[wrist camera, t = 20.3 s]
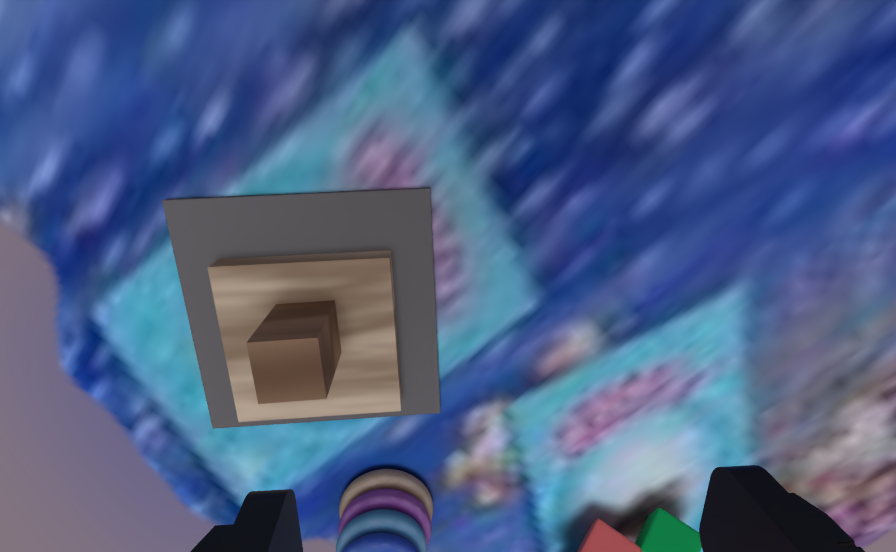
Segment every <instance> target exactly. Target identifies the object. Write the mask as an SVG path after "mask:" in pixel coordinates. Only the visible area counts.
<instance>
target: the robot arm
mask: <svg viewBox="0 0 896 552" xmlns="http://www.w3.org/2000/svg"><path fill="white" fill-rule="evenodd" d="M699 534H700V542H701V546H702V549H703V552H865V551H864V550H863V549H862V548H861V547H856V545H855V543H854V540H853V539H852V538H851V537H850V536H849V535H848V534H846V533H845V532H844V531H843V530H842V529H841V528H840V527H839V526H838V525H837V524H836V523H835V522H834V521H833V520H832V519H831V518H830V517H829V516H828V515H827V514H826V513H824V512H823V511H821V510H819V509H818V508H816V507H815V506H813V505H812V504H810V503H809V502H807V501H806V500H804V499H803V498H801V497H800V496H798V495H796V494H795V493H788V492H787V491H786V490H785V489H784V488H783V487H782V486H781V485H780V484H779V483H778V482H777V481H776V480H775V479H774V478H773V477H772V476H771V475H770V474H769V473H768V472H767V471H766V470H765V469H764V468H762V467H760V466H757V465H750V466H732V467H717V468H715V469H714V470H713V472H712V474H711V477H710V482H709V486H708V491H707V495H706V500H705V504H704V509H703V513H702V518H701V522H700V528H699ZM191 552H303V547H302V540H301V533H300V526H299V519H298V512H297V506H296V499H295V494H294V491H293V490H291V489H289V490H271V491H253V492H249V493H248V494H247V496H246V498H245V500H244V502H243V504H242V506H241V509H240V511H239V513H238V516H237V518H236V520H235V523H234V525H217V526H214V527H213V528H212V529H211V531H210V532H209V533H208V534H207V535H206V536H205V537H204V538H203V539H202V540H201V541H200V542H199V543H198V544H197V545H196V546H195V547H194V549H193V550H192V551H191Z"/></svg>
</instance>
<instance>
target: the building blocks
mask: <svg viewBox="0 0 896 552" xmlns="http://www.w3.org/2000/svg"><path fill="white" fill-rule="evenodd" d="M701 548H702V546H701V542H700V534H699V532H697V531H696V530H694V529H692V528H691V527H689V526H688V525H686V524H685V523H683V522H682V521H680V520H679V519H677V518H676V517H674V516H673V515H671V514H670V513H668V512H667V511H665V510H663V509H662V508H657V509H656V510H655V511H653V512H652V513H651V514H649V515H648V517H647V519H646V521H645V523H644V525H643V527H642V529H641V531H640V534H639V536H638V538H637V540H636V542H635V543H633V542H632V541H630V540H629V539H628V538H626V537H625V536H623V535H622V534H621V533H619V532H618V531H616V530H615V529H613V528H612V527H611V526H609V525H608V524H606V523H605V522H603V521H602V520H601V519H596V520H595V521H594V522H593V523H592V524H591V526H590V527H589V529H588V531H587V533H586V535H585V537H584V539H583V541H582V543H581V545H580V547H579V549H578V550H577V552H700V550H701Z"/></svg>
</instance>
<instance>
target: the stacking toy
mask: <svg viewBox="0 0 896 552" xmlns="http://www.w3.org/2000/svg"><path fill="white" fill-rule="evenodd" d="M339 516H340V523H339V538H338V541H337V545H336V552H427V545H428V543H429V540H430V537H431V520H432V516H433V502H432V498H431V495H430V493H429V491H428V489H427V488H426V487H425V485H424V484H423V483H422V482H421V481H420V480H418V479H417V478H416V477H414V476H413V475H411V474H408V473H406V472H403V471H400V470H395V469H379V470H374V471H371V472H368V473H365V474H363V475H361V476H359V477H358V478H356V479H355V480H354V481H353V482H351V484H350V485H349V486H348V487H347V488H346V490H345V491H344V493H343V495H342V498H341V501H340V506H339Z"/></svg>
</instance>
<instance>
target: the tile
mask: <svg viewBox="0 0 896 552" xmlns="http://www.w3.org/2000/svg"><path fill="white" fill-rule="evenodd" d="M207 268H208V273H209V278H210V283H211V288H212V293H213V298H214V303H215V308H216V313H217V318H218V323H219V328H220V333H221V338H222V343H223V347H224V352H225V357H226V362H227V367H228V372H229V377H230V382H231V387H232V392H233V397H234V402H235V407H236V412H237V417H238V422H249V421H264V420H278V419H293V418H307V417H322V416H337V415H351V414H366V413H380V412H395V411H401V403H402V393H401V379H400V366H399V353H398V339H397V326H396V313H395V299H394V286H393V273H392V259H391V250H385V251H365V252H346V253H326V254H306V255H287V256H267V257H247V258H228V259H218V260H217V261H216V262H214V263H213V264H211V265H210V266H208V267H207ZM331 300H335V306H336V313H337V321H338V329H339V337H340V344H341V352H342V353H341V356H340V359H339V362H338V365H337V368H336V371H335V374H334V378H333V381H332V384H331V387H330V390H329V393H328V396H327V399H319V400H306V401H293V402H280V403H267V404H258V400H257V395H256V390H255V385H254V380H253V375H252V370H251V365H250V360H249V355H248V350H247V344H246V342H247V341H248V340H249V338H250V337H251V336H252V335H253V333H254V332H255V331H256V329H257V328H258V327H259V325H260V324H261V323H262V322H263V320H264V319H265V318H266V316H267V315H268V314H269V313H270V311H271V310H272V309H273V307H274V306H275V305H276V304H287V303H301V302H316V301H331Z"/></svg>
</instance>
